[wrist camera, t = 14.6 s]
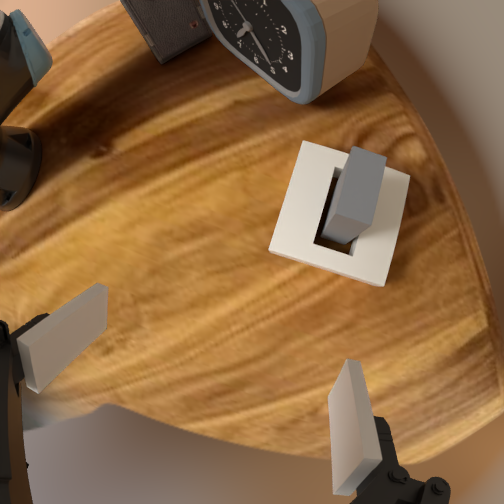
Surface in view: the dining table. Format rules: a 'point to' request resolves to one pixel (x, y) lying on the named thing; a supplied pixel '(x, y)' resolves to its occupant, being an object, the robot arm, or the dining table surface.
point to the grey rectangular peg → (354, 196)
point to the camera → (169, 25)
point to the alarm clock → (296, 40)
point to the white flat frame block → (310, 210)
